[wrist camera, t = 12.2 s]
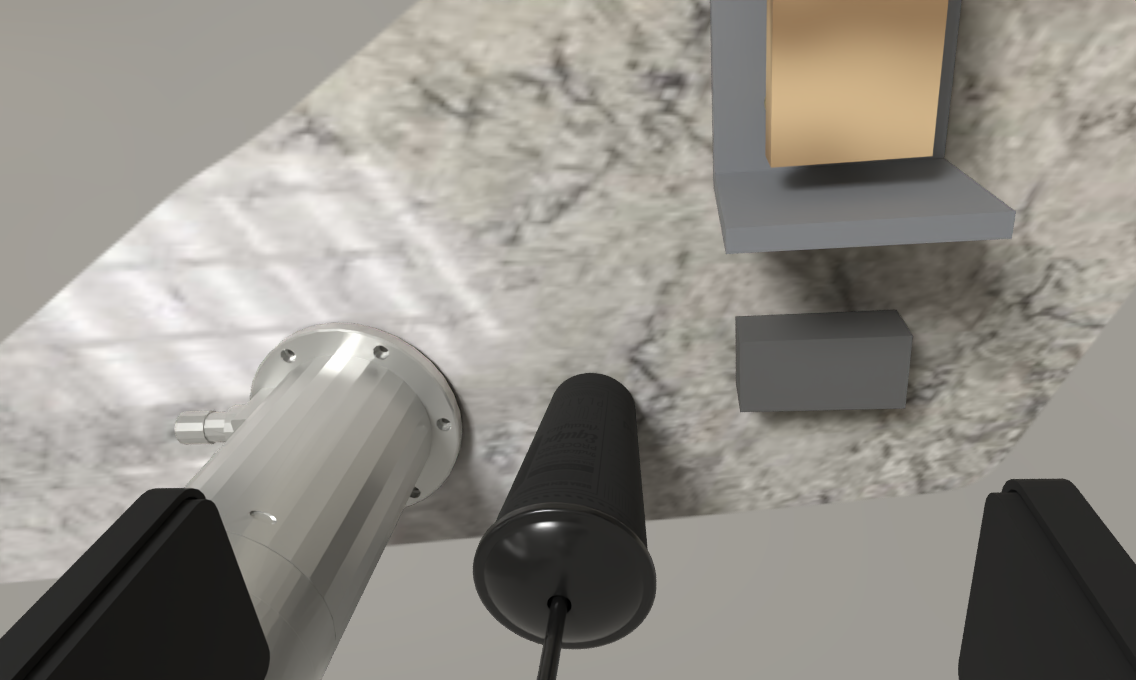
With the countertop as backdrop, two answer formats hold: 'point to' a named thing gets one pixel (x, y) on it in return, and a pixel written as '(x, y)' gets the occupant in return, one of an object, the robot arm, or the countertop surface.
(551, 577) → the drinking cup
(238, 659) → the robot arm
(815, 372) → the block
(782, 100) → the shelf board
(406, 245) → the countertop surface
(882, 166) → the cabinet stand
